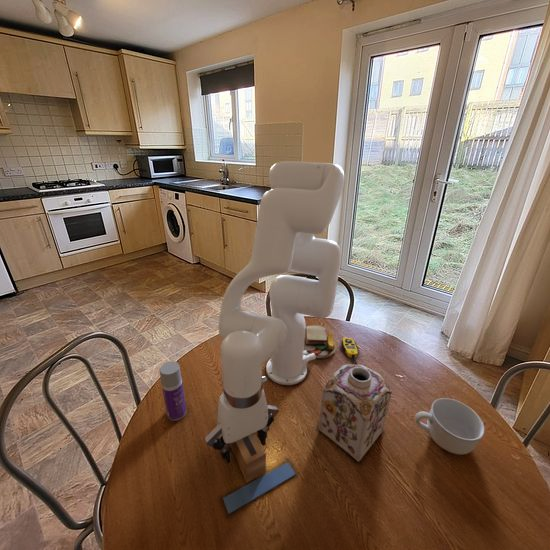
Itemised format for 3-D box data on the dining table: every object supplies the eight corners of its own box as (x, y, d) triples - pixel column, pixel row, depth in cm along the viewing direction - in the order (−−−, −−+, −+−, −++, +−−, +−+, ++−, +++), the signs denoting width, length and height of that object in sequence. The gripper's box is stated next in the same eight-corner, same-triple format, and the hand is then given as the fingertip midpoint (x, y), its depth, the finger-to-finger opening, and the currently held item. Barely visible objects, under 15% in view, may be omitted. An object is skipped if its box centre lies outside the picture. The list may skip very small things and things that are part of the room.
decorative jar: (343, 402, 79) (352, 349, 72) (383, 430, 72) (398, 374, 64) (315, 429, 71) (322, 373, 64) (357, 464, 64) (371, 405, 56)
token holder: (225, 435, 69) (224, 417, 67) (242, 428, 71) (242, 410, 69) (246, 482, 60) (246, 463, 57) (265, 472, 62) (265, 453, 59)
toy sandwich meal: (298, 357, 95) (298, 346, 93) (300, 333, 107) (301, 322, 105) (336, 362, 94) (338, 350, 92) (334, 336, 106) (336, 325, 104)
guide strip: (288, 462, 64) (288, 461, 64) (295, 475, 62) (295, 474, 62) (223, 499, 57) (222, 498, 57) (228, 514, 55) (228, 513, 55)
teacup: (468, 428, 73) (477, 404, 70) (480, 469, 64) (492, 445, 60) (408, 411, 77) (414, 389, 74) (411, 448, 68) (419, 424, 64)
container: (180, 422, 72) (173, 376, 66) (163, 418, 73) (154, 373, 67) (189, 407, 77) (183, 362, 70) (173, 404, 77) (165, 359, 71)
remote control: (353, 336, 103) (366, 366, 90) (353, 341, 104) (365, 370, 90) (340, 336, 103) (350, 366, 89) (339, 340, 104) (349, 370, 90)
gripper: (272, 364, 65) (270, 420, 72) (193, 393, 57) (201, 452, 64) (290, 387, 59) (286, 445, 66) (205, 422, 51) (211, 484, 58)
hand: (244, 448), depth 65 cm, fingers open, 7 cm apart
